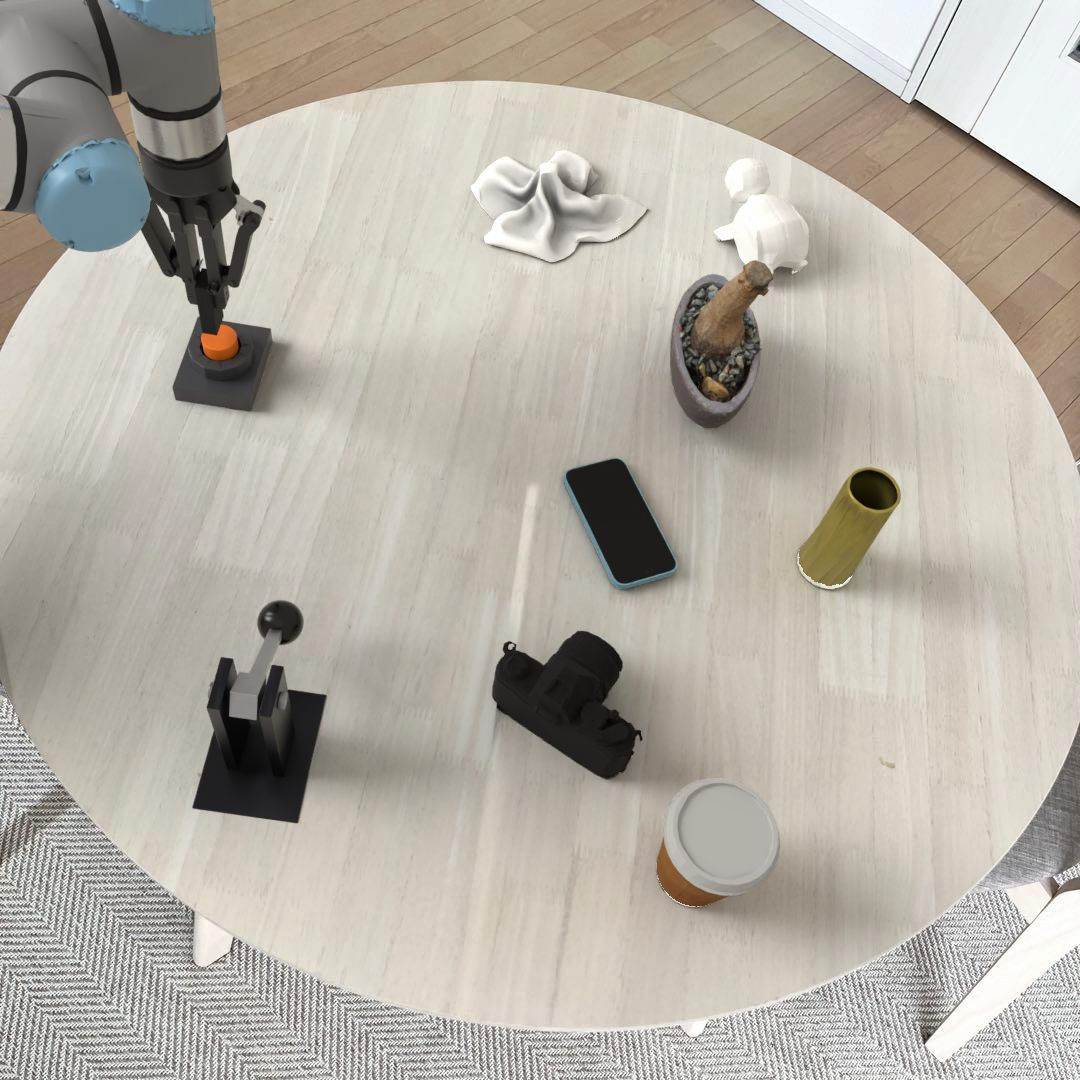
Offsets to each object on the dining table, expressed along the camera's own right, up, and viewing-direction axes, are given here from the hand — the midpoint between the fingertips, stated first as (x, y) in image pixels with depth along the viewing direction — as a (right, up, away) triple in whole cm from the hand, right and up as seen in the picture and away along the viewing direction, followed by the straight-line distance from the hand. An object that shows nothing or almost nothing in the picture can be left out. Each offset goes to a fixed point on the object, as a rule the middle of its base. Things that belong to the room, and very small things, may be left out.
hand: (213, 324), depth 116 cm
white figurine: (+60, +15, +27) cm, 68 cm away
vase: (+63, -25, +3) cm, 68 cm away
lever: (+10, -33, -20) cm, 40 cm away
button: (0, -2, +3) cm, 4 cm away
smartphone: (+42, -21, +2) cm, 46 cm away
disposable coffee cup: (+47, -51, -16) cm, 71 cm away
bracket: (+9, -41, -15) cm, 45 cm away
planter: (+52, -5, +13) cm, 54 cm away
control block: (-1, -4, +6) cm, 7 cm away
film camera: (+36, -38, -9) cm, 53 cm away
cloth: (+36, +20, +26) cm, 48 cm away
